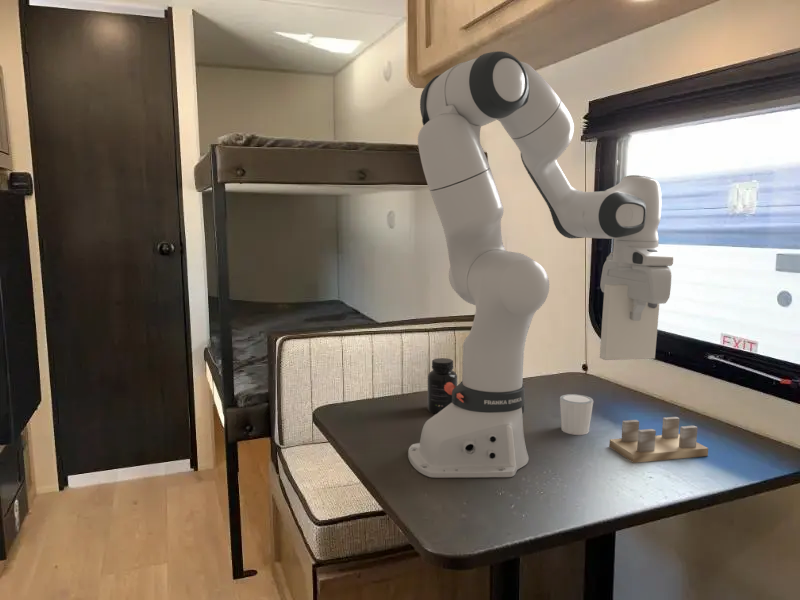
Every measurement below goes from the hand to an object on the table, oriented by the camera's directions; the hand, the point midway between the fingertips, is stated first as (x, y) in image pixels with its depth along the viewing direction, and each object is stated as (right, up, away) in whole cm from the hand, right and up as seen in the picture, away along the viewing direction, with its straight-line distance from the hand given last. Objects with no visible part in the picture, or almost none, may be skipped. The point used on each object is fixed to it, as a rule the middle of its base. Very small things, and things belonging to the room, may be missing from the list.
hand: (630, 318), depth 132 cm
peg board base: (+1, -25, -13) cm, 28 cm away
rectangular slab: (0, -9, +1) cm, 9 cm away
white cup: (-12, -24, -1) cm, 27 cm away
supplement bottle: (-40, -22, +11) cm, 47 cm away
